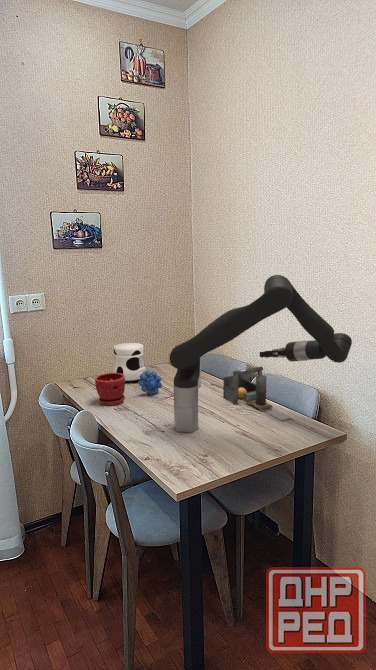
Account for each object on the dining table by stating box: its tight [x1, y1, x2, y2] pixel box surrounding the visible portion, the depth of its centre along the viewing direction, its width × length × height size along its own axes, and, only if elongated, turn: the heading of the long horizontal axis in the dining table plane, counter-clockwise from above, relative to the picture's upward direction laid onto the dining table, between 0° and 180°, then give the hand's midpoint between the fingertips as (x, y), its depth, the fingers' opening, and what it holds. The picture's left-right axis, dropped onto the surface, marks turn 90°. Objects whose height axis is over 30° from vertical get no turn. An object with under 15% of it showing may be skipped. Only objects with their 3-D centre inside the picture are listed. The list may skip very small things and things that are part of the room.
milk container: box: [112, 342, 147, 383], centre depth 236 cm, size 17×17×18 cm
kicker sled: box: [243, 374, 273, 410], centre depth 194 cm, size 12×6×13 cm, turn 29°
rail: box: [259, 407, 292, 422], centre depth 186 cm, size 14×5×1 cm, turn 29°
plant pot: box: [94, 372, 126, 406], centre depth 202 cm, size 13×13×12 cm
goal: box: [222, 366, 264, 405], centre depth 204 cm, size 10×15×15 cm, turn 119°
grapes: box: [137, 369, 163, 396], centre depth 211 cm, size 12×7×12 cm, turn 116°
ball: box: [238, 387, 247, 399], centre depth 206 cm, size 5×5×5 cm
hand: (266, 353), depth 184 cm, fingers open, 8 cm apart
